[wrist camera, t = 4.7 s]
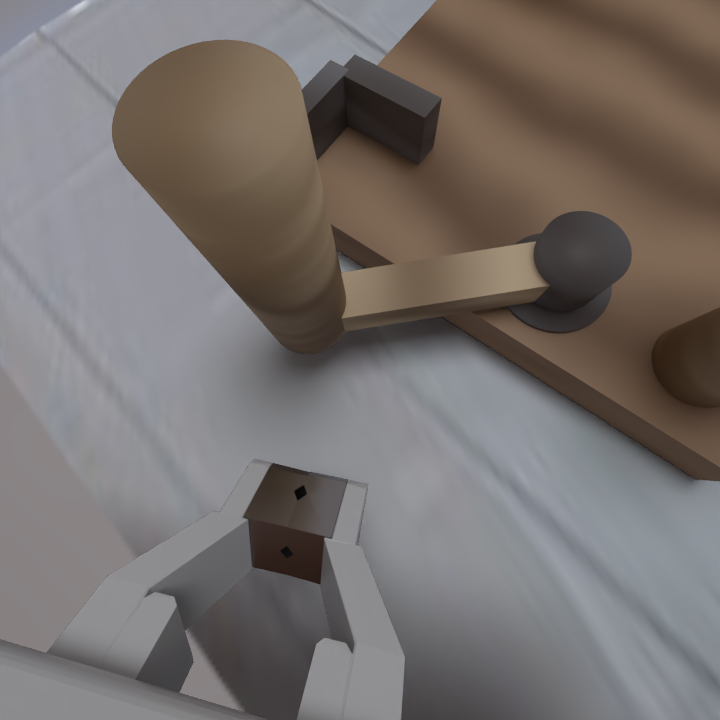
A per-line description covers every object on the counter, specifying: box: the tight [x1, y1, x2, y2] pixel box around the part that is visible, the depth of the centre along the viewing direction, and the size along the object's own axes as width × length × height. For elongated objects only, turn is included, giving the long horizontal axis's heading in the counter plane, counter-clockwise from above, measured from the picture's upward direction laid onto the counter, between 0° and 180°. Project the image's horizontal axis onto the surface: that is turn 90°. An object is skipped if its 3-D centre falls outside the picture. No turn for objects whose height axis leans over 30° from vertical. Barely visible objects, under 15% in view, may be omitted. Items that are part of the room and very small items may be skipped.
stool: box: [302, 0, 720, 481], centre depth 13 cm, size 22×22×11 cm
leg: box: [112, 40, 632, 354], centre depth 10 cm, size 13×3×9 cm, turn 98°
